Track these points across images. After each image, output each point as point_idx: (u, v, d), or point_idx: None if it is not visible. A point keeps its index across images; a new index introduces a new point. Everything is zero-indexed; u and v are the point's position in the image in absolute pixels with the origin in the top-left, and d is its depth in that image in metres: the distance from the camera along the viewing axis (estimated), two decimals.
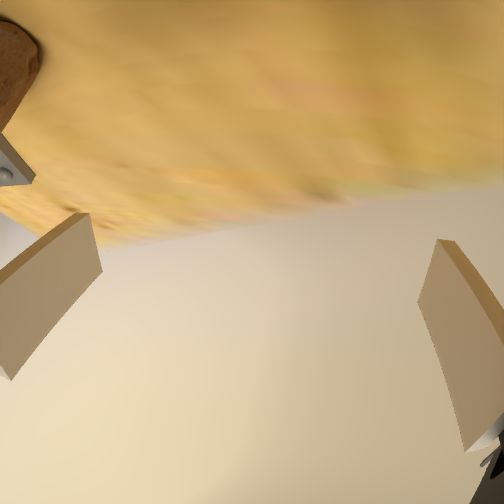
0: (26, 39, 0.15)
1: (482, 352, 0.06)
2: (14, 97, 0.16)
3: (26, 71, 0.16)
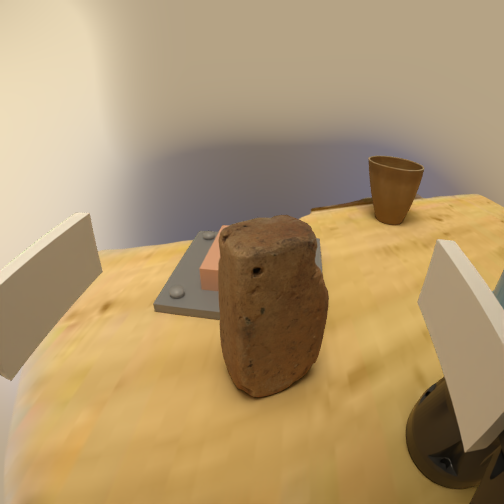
0: (265, 394, 0.34)
1: (482, 352, 0.06)
2: (240, 373, 0.31)
3: (246, 386, 0.32)
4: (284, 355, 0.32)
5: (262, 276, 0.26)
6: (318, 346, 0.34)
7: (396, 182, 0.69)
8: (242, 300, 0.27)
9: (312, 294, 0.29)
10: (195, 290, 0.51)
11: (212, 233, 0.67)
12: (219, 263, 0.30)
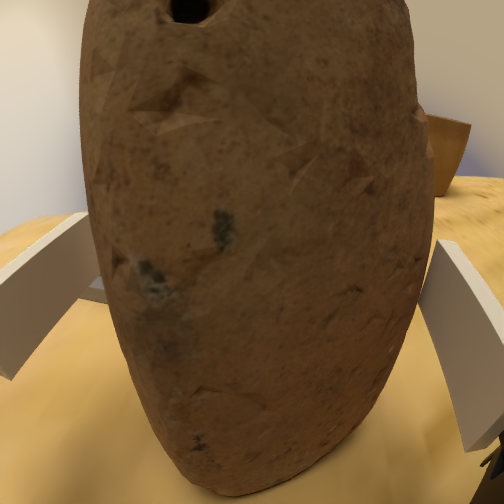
0: (253, 490, 0.12)
1: (482, 352, 0.06)
2: (174, 460, 0.09)
3: (201, 485, 0.10)
4: (309, 410, 0.10)
5: (218, 28, 0.04)
6: (389, 373, 0.12)
7: (441, 136, 0.46)
8: (113, 157, 0.05)
9: (412, 190, 0.07)
10: None
11: None
12: None
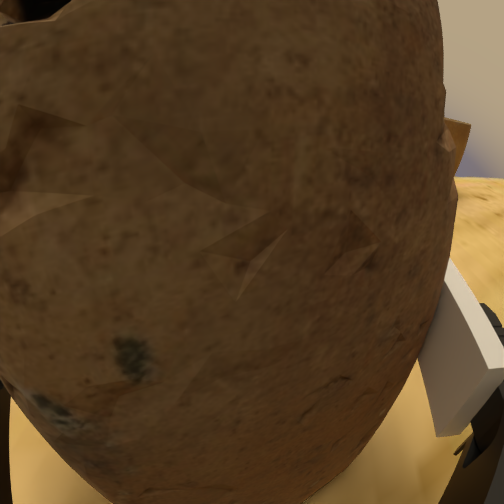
0: None
1: (450, 336, 0.07)
2: None
3: None
4: (284, 481, 0.08)
5: (82, 16, 0.02)
6: (379, 425, 0.10)
7: None
8: None
9: (427, 249, 0.05)
10: None
11: None
12: None
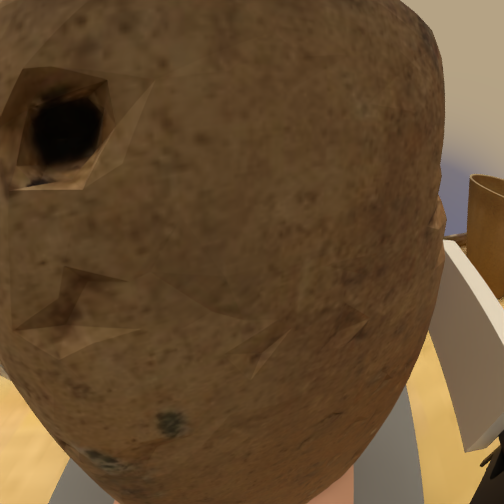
0: None
1: (482, 352, 0.06)
2: None
3: None
4: (285, 491, 0.08)
5: (108, 183, 0.02)
6: (371, 439, 0.11)
7: None
8: (21, 373, 0.03)
9: (413, 311, 0.06)
10: None
11: None
12: None
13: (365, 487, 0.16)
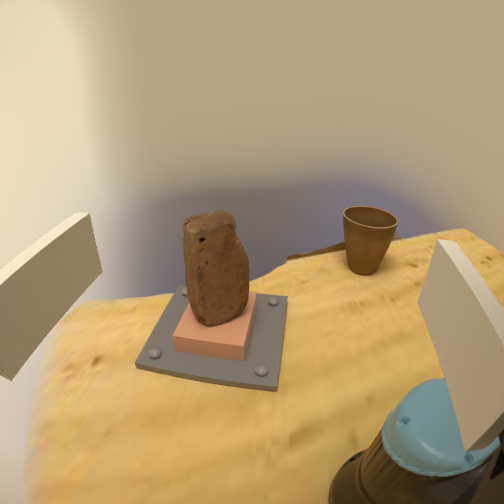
0: (215, 323, 0.57)
1: (482, 352, 0.06)
2: (197, 305, 0.54)
3: (202, 315, 0.55)
4: (223, 293, 0.55)
5: (205, 243, 0.49)
6: (246, 290, 0.57)
7: (367, 239, 0.75)
8: (195, 256, 0.50)
9: (235, 254, 0.53)
10: (170, 351, 0.57)
11: None
12: (183, 238, 0.53)
13: (261, 329, 0.63)
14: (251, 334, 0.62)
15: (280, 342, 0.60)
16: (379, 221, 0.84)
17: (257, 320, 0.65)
